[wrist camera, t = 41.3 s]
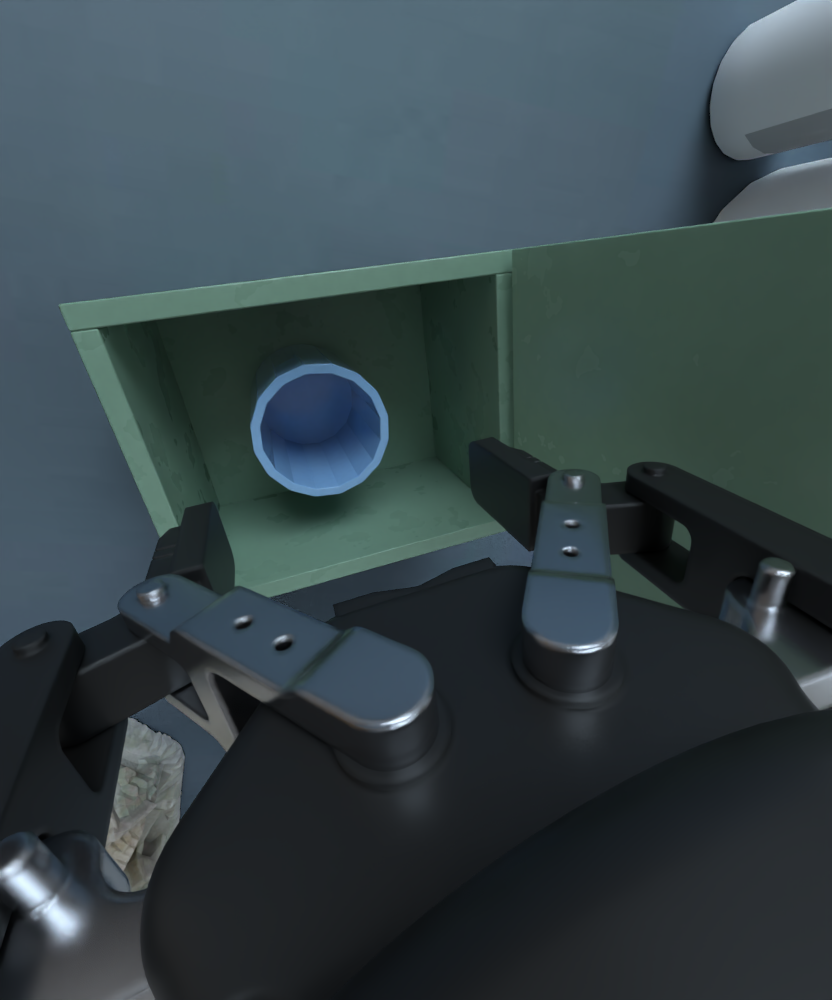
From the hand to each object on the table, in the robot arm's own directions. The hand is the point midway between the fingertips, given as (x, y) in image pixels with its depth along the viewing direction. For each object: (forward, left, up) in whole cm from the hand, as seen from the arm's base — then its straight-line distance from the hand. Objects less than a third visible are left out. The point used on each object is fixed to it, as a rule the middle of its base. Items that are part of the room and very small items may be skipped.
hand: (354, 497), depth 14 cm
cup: (0, 0, -14) cm, 14 cm away
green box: (+1, 0, -15) cm, 15 cm away
